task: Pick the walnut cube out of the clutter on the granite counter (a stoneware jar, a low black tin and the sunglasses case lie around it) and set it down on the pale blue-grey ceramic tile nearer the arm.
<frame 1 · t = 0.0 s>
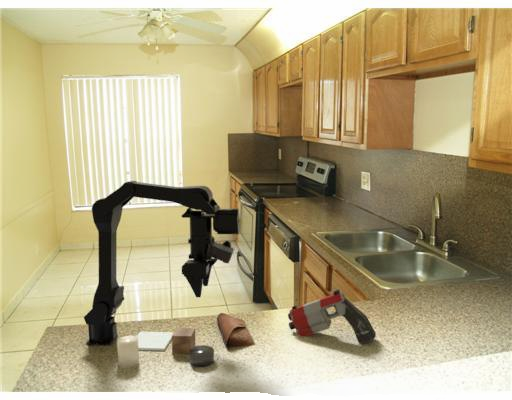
hand: (202, 291, 119), 15 cm above the worktop, tool pointing down, fingers open, 9 cm apart
tile: (151, 341, 123), on the worktop
stoneware jar: (128, 362, 111), on the worktop
toy gun: (330, 337, 125), on the worktop
black tin: (201, 362, 111), on the worktop
walnut cube: (184, 350, 118), on the worktop
sunglasses case: (235, 335, 128), on the worktop
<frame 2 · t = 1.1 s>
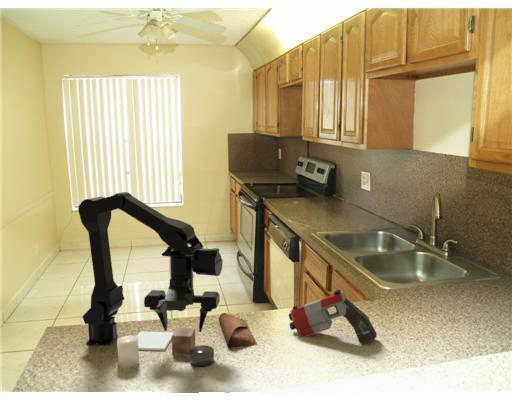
hand: (183, 330, 117), 5 cm above the worktop, tool pointing down, fingers open, 9 cm apart
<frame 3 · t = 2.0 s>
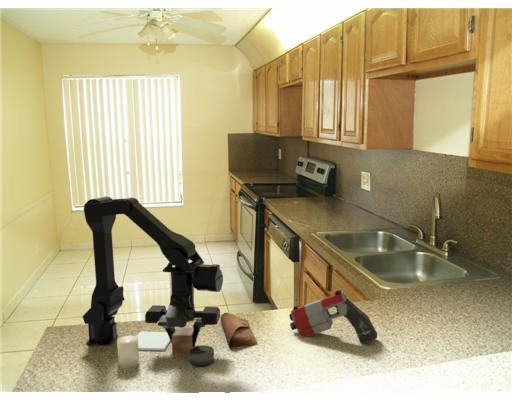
hand: (184, 345, 118), 1 cm above the worktop, tool pointing down, fingers closed on walnut cube, 5 cm apart
walnut cube: (184, 349, 118), on the worktop, touching gripper
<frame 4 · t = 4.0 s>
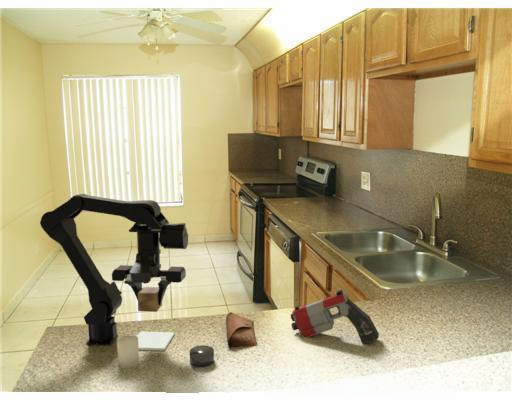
hand: (150, 304, 121), 11 cm above the worktop, tool pointing down, fingers closed on walnut cube, 5 cm apart
walnut cube: (150, 308, 121), point 10 cm above the worktop, touching gripper
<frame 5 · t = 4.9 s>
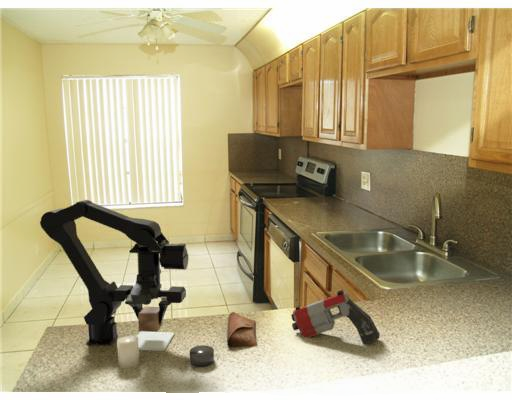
hand: (150, 324, 122), 5 cm above the worktop, tool pointing down, fingers closed on walnut cube, 5 cm apart
walnut cube: (150, 327, 122), point 4 cm above the worktop, touching gripper
when the fingers open (2 cm above the worktop, at t = 5.8 s): walnut cube stays where it is, resting on tile.
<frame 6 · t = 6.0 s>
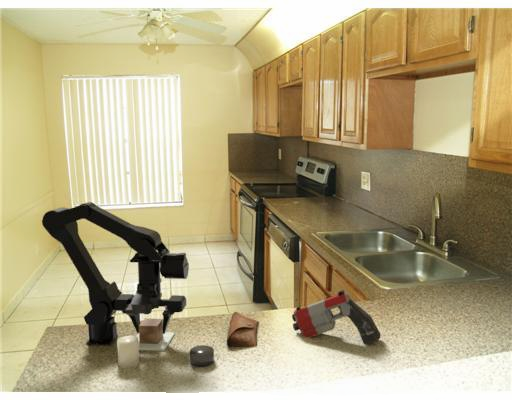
hand: (151, 333, 122), 2 cm above the worktop, tool pointing down, fingers open, 7 cm apart
walnut cube: (151, 339, 122), point 1 cm above the worktop, touching tile
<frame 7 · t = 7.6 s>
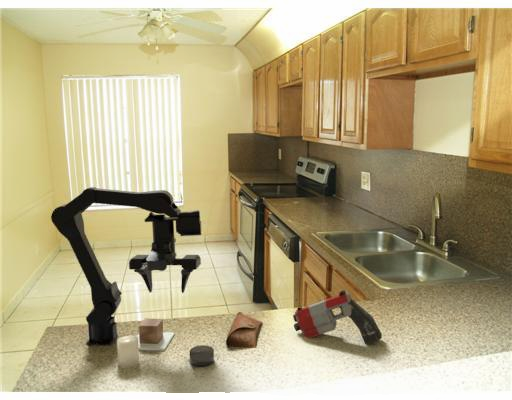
hand: (166, 292, 124), 13 cm above the worktop, tool pointing down, fingers open, 9 cm apart
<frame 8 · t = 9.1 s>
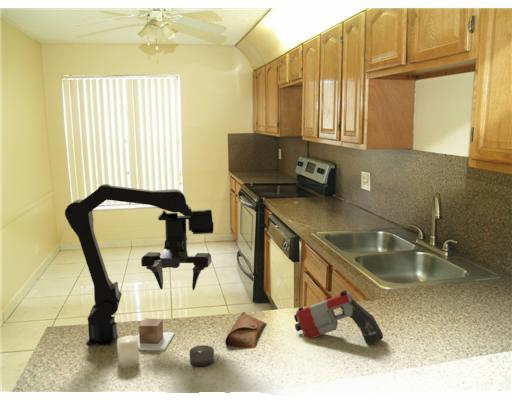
hand: (177, 289, 126), 13 cm above the worktop, tool pointing down, fingers open, 9 cm apart
at the end: walnut cube inside the target area on the tile (0.0 cm from its centre), point 0.6 cm above the tile's base; walnut cube tilted 0°; the gripper is holding nothing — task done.
